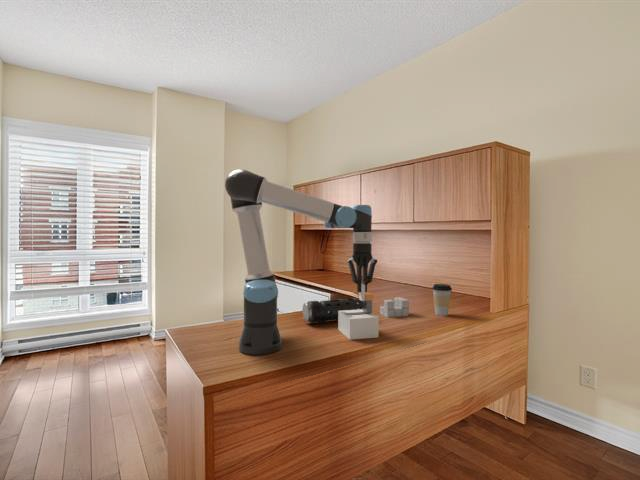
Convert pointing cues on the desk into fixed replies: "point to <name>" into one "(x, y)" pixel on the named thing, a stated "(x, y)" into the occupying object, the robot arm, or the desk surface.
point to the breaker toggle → (368, 302)
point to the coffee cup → (441, 298)
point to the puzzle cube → (395, 307)
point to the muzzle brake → (328, 309)
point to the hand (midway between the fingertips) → (362, 300)
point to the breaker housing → (358, 324)
